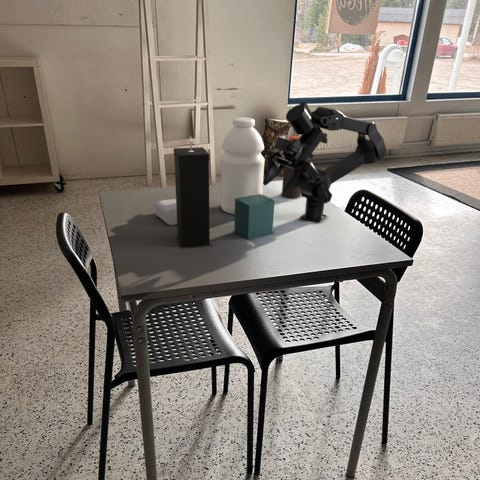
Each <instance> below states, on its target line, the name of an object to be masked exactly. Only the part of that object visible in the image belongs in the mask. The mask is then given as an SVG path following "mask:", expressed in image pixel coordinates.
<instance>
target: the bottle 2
mask: <svg viewBox="0 0 480 480" xmlns="http://www.w3.org/2000/svg"><path fill="white" fill-rule="evenodd" d="M299 137H300V135H291V136H289V137H288V140H289V141H291V140H292V139H296V140H298V139H299ZM283 158H284V159H285V157H283ZM288 164H289V163H288ZM293 172H294V169H292V168H289V167H286V166H285V167H284V169H283V172H282V173H283V175H282V185H281V186H282V188H281V195H282V197H284V198H288V199H297V198H300V197H301V192H300V189H299V187H297V188H295V189H293V190H291V191H290V192H288V193H286V194H284V193H283V189H284V188H285V186H286V185H287V183H288V182H289V180H290V179H291V177H292V176H293Z"/></svg>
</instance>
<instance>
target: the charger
mask: <svg viewBox="0 0 480 480" xmlns="http://www.w3.org/2000/svg"><path fill="white" fill-rule="evenodd" d="M154 205H155V215H156V216H157V217H158V218H160V219H161V220H162V221H163V222H165V223H166V224H167V225H169V226H173V225H177V208H176V198H172V199H161V200H158V201H157V202H156V203H155V204H154Z"/></svg>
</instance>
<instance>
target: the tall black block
mask: <svg viewBox="0 0 480 480" xmlns="http://www.w3.org/2000/svg"><path fill="white" fill-rule="evenodd" d="M173 158H174V159H173V160H174V182H175V183H174V184H175V199H176V208H177V224H176V227H177V231H176V232H177V238H178V240H179V243H180V245H181V248H189V247H202V246H209V245H211V243H210V239H211V238H210V234H211V233H210V153H209V152H208V151H207V150H206V149H205V148H204V147H202V146H201V147H199V146H198V147H197V146H196V147H193V138H192V136H189V147H174V148H173Z"/></svg>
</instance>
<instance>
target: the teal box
mask: <svg viewBox="0 0 480 480" xmlns="http://www.w3.org/2000/svg"><path fill="white" fill-rule="evenodd" d="M275 201H276V200H275V199H273V198H270V197H268V196H266V195H263V194H256V195H251V196H246V197H241V198H236V199H235V214H234V224H233V226H234V227H233V228H234V229H233V231H234V232H235V233H236V234H238V235H240V236H242V237H243V238H245V239H247V240H250V239H255V238H259V237H263V236H267V235H271V234H273V232H274V218H275V217H274V216H275Z"/></svg>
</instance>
